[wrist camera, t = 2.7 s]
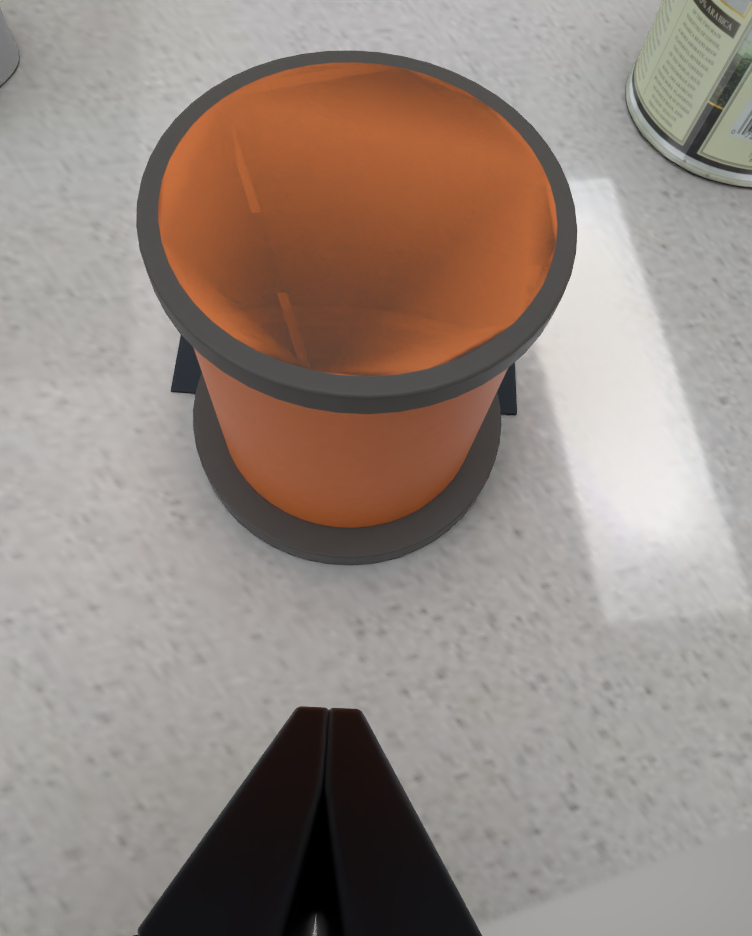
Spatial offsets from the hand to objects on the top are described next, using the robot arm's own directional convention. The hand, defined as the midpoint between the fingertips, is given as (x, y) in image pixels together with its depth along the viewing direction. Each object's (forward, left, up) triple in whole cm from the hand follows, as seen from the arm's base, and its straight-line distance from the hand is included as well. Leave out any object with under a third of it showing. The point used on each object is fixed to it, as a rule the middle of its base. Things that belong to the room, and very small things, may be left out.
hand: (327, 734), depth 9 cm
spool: (+10, +5, -13) cm, 18 cm away
